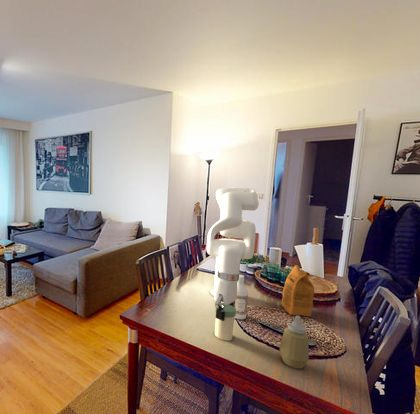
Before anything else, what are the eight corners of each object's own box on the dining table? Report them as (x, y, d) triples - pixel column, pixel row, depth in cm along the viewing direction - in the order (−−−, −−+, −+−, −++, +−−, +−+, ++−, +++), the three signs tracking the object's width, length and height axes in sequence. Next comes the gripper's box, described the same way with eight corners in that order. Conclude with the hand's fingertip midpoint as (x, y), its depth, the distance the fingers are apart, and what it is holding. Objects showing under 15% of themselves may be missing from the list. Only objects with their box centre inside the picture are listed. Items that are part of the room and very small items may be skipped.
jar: (221, 329, 118) (223, 303, 117) (235, 337, 113) (238, 310, 111) (211, 333, 116) (213, 307, 114) (225, 342, 110) (228, 314, 108)
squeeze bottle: (272, 356, 102) (277, 310, 99) (292, 354, 102) (298, 309, 100) (292, 372, 94) (298, 323, 91) (314, 370, 94) (320, 322, 92)
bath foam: (230, 318, 127) (234, 277, 124) (226, 311, 134) (230, 272, 131) (248, 321, 125) (251, 279, 122) (243, 313, 131) (246, 273, 129)
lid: (226, 319, 108) (226, 313, 108) (210, 309, 115) (210, 304, 115) (240, 315, 110) (240, 310, 110) (224, 306, 117) (224, 301, 117)
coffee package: (302, 306, 137) (307, 264, 134) (314, 319, 126) (320, 273, 122) (278, 303, 141) (282, 262, 138) (287, 315, 129) (292, 271, 126)
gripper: (228, 268, 118) (225, 306, 121) (207, 277, 109) (204, 319, 111) (247, 273, 112) (244, 313, 115) (227, 284, 102) (224, 327, 105)
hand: (224, 315), depth 113 cm, fingers closed on lid, 7 cm apart
